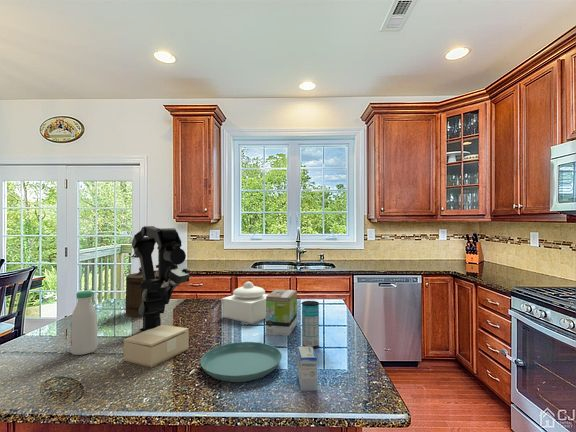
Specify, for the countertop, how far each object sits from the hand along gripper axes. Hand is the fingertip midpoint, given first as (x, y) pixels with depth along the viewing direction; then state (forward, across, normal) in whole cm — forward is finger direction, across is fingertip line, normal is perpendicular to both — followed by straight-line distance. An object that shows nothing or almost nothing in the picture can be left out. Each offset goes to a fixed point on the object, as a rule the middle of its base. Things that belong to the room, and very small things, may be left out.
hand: (166, 304), depth 125 cm
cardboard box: (+13, -12, -8) cm, 19 cm away
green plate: (+14, -8, -38) cm, 41 cm away
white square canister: (+13, +39, -12) cm, 43 cm away
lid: (+7, -12, -8) cm, 16 cm away
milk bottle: (+13, -20, +17) cm, 29 cm away
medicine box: (+13, -10, -60) cm, 62 cm away
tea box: (+13, +28, -34) cm, 46 cm away
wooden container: (+13, +23, +38) cm, 46 cm away
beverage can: (+13, +16, -51) cm, 55 cm away
